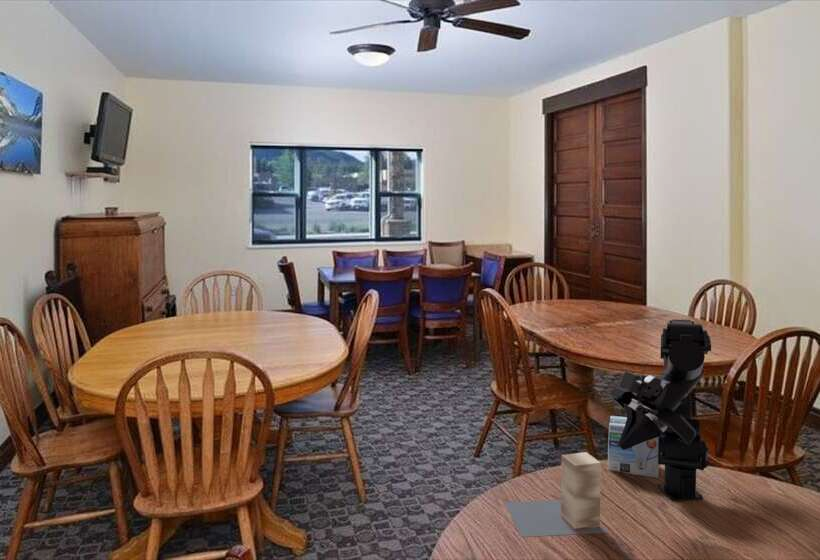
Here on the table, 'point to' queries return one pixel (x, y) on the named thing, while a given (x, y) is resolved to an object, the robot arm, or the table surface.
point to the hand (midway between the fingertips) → (620, 447)
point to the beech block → (580, 490)
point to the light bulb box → (631, 452)
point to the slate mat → (543, 519)
